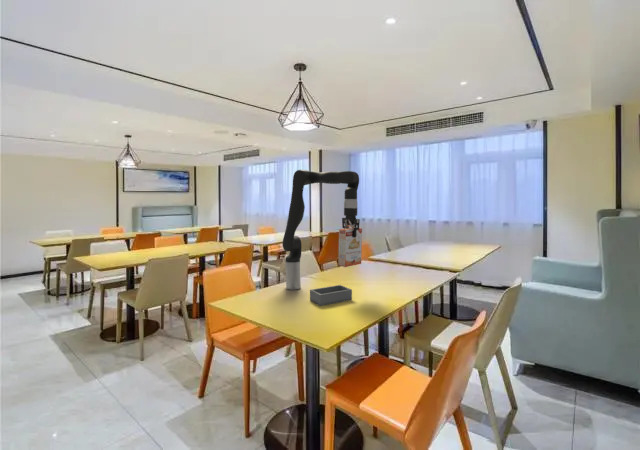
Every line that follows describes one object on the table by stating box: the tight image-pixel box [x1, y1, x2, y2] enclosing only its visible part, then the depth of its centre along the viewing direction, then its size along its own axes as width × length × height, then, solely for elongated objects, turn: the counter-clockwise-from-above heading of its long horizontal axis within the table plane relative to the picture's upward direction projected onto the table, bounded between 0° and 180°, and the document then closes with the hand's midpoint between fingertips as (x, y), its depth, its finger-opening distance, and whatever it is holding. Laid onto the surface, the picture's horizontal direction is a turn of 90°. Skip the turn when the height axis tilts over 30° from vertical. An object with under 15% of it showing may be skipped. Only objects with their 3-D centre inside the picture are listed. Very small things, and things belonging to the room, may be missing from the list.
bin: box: [309, 284, 353, 307], centre depth 187 cm, size 12×20×6 cm, turn 119°
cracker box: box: [337, 227, 363, 268], centre depth 191 cm, size 14×6×21 cm, turn 134°
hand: (350, 236), depth 190 cm, fingers closed on cracker box, 6 cm apart
